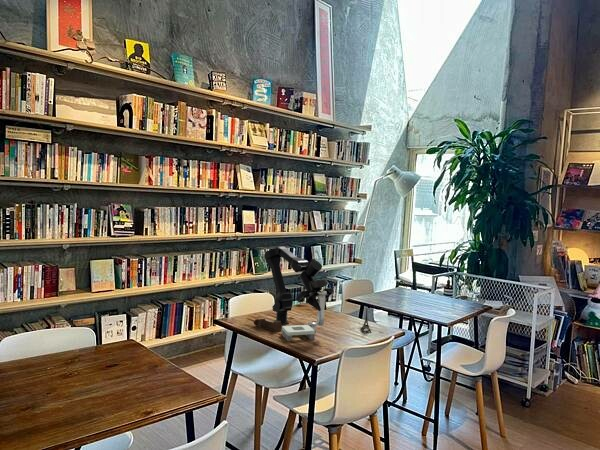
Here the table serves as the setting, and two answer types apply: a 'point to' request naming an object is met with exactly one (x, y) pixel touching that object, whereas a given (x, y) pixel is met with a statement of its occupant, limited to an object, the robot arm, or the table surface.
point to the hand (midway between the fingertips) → (322, 310)
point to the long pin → (321, 307)
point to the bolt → (268, 324)
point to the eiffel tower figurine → (366, 327)
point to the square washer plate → (297, 331)
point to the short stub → (313, 325)
